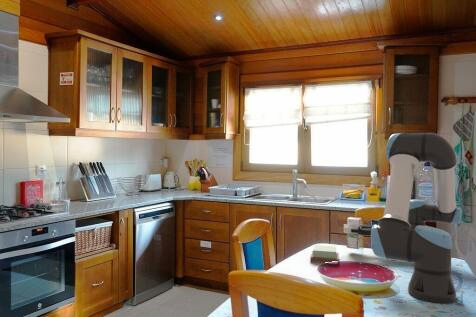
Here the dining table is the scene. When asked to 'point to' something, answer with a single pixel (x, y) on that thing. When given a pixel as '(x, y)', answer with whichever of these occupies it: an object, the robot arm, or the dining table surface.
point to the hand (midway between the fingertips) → (343, 228)
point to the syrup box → (352, 238)
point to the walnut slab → (322, 259)
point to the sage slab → (324, 251)
